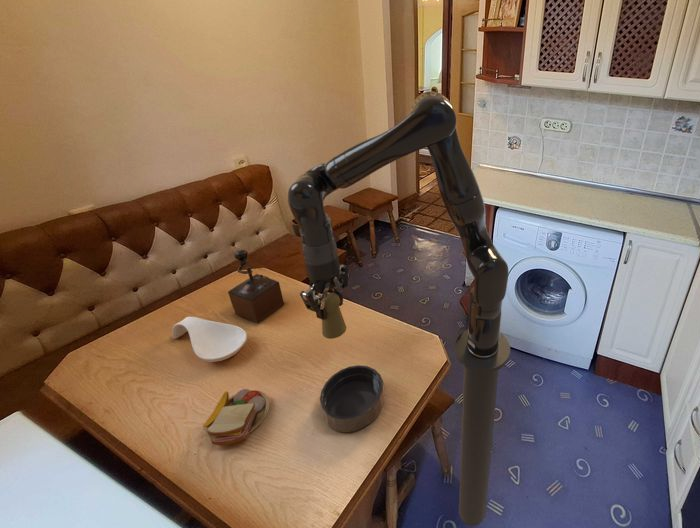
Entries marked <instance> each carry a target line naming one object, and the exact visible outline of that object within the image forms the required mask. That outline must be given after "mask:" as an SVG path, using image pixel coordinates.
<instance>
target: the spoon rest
mask: <svg viewBox="0 0 700 528" xmlns="http://www.w3.org/2000/svg"><path fill="white" fill-rule="evenodd" d="M187 332H188V336H189V340H190V344H191V346H192V347H191V348H192V350H193V352H194V354H195V355H196V356H197V357H198V358H199V359H200V360H201V361H204V362H210V363H212V362H213V363H215V362H216V363H217V362H221V361H226V360H228V359H229V358H231V357H233V356H234V355H236V354H237V353H238V352H239V351H240V350H241V349H242V348H243V347H244V345H245V344H246V342H247V340H248V334H247V331H245V329H243V328H242V327H240V326H237V325H235V324H230V323H225V322H219V321H213V320H209V319H204V318H200V317H196V316H186V317H185V318H184V319H182V320H181V321H178V322H177V323H175V324H174V325H173V327H172V330H171V336H172V339H179V338H180V337H181V336H183V335H185V334H186V333H187Z"/></svg>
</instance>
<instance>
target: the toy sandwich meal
mask: <svg viewBox="0 0 700 528" xmlns="http://www.w3.org/2000/svg"><path fill="white" fill-rule="evenodd" d="M269 398H270V397H269V396H268V395H267V394H266V393H265V392H263V391H261V390H257V389H255V390H254V389H248V388H242V389H240V390H239V391H237V392H236V393H235V394H233V395H231V396H230V395H229V391H228V390H227V391H225V392H223V394H222V396H221V397H220V399H219V401H217V404H216V405H215V407H214V409H213V411H212V413H211V414H210V416H208V418H207V419H206V421H205V423H204V424H203V425H202V427H203V428H205V432H206V435H207V436H208V438H209V439H210V442H211V444H212V445H214V446H226V445H227V446H228V445H231V444H236V443H239V442H242V441H244V440H246V439H248V438H249V437H250V436H251V435H250V434H251V433H252V432H254V430H256V429H257V428H258V427H259V426H260V425H261V424H262V422H263V421H264V420H265V418H266V416H267V415H268V412H269V410H270V399H269Z"/></svg>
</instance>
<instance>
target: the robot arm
mask: <svg viewBox="0 0 700 528" xmlns="http://www.w3.org/2000/svg"><path fill="white" fill-rule="evenodd" d="M457 118H458V117H457V114H456V112H455V109H454V106H453V105H452V103H451V101H450V100H449V98H447V97H446V96H445V95H443V94H442V93H439V92H437V91H432V90H431V91H429V90H428V91H425V92H422V93H421V94H419V95H418V96H417V97H416V98H415V100H414V102H413V103H412V105H411V109H410V113H409V114H408V115H407V116H406V117H405V118H403V119H401V120H400V122H398V123H397V124H396V125H394V126H393V127H391V128H390V129H388V130H386V131H384V132H382V133H380V134H377V135H376V136H372V137H370V138H367V139H365V140H361V141H360V142H357V143H355V144H353V145H352V146H350V147H348V148H346V149H344V150H343V151H341V152H339V153H338V154H336V155H335V156H333V157H331V158H330V159H328V160H327V161H325V162H323V163H320V164H317V165H316V166H313V167H311V168H310V169H308V170H306V171H305V172H302V173H301V174H300V175H299V176H298V177H297V178H296V180H295V181H294V182H293V183H292V184H291V185H290V187H289V188H288V191H287V202H288V207H289V210H290V211H291V214H292V216H293V219H294V220H295V222H296V223H297V225H298V231H299V235H300V241H301V251H302V256H303V262H304V266H305V271H306V276H307V277H308V279H309V287H308V288H307V289H306V290H305V291H304V290H302V291H301V292H300V293H299V296H300V298H301V300H302V302H303V304H304V305H305V308H306V309H307V310H309V311H311V312H314V313H315V315H316V318H317V319H319V320H321V321H322V320H325V319H326V318H327V316H326V311H325V307H324V304H325V300H326V299H327V295H328V293H330V291H331V290H332V291H333V292H332V293H335V294H337V295H338V296H339V298H340V305H339V307H342V306H343V305H344V303H343V302H344V295H343V293H344V289H345V288H347V287H348V285H349V266H348V265H346V264H341V263H340V259H339V258H340V257H339V253H338V245H337V242H336V241H337V240H336V239H335V234H334V228H333V221H332V218H331V216H330V215H329V214H328V213H326V211H325V208H324V207H325V206H324V201H325V199H326V197H327V196H329V195H330V194H332V193H334V192H335V191H337V190H339V189H347V188H349V187H351V186H354V185H355V184H356V183H358V182H360V181H362V180H363V179H365V178H367V177H368V176H370V175H372V174H374V173H375V172H377V171H378V170H380V169H383V168H384V167H386V166H388V165H389V164H392V163H394V162H395V161H398V160H400V159H402V158H404V157H406V156H408V155H411V154H413V153H415V152H418V151H420V150H423V149H425V148H427V150H428V153H429V155H430V158H431V160H432V165H433V170H434V174H435V178H436V183H437V187H438V190H439V194H440V197H441V200H442V202H443V205H444V207H445V211H446V212H447V215H448V217H449V219H450V221H451V223H452V225H453V227H454V228H455V230H456V232H457V234H458V235H459V238H460V240H461V243H462V248H463V250H464V255H465V259H466V263H467V267H468V269H469V271H470V273H471V274H472V277H473V278H474V286H473V287H472V288H471V289H470V291H469V298H468V321H467V322H468V323H467V330H468V341H467V349H468V351H469V353H470V354H471V355H473V356H474V357H476V358H479V359H488V358H491V357H493V356H495V355H496V354H497V352H498V348H499V333H501V323H502V322H501V321H502V309H503V300H504V299H505V297H506V295H507V289H508V282H509V266H508V263H507V261H506V260H505V258H503V256H502V254H501V253H500V251H499V250H498V249H497V248H496V246H495V245H494V242H493V241H492V239H491V236H490V234H489V232H488V229H487V226H486V205H485V201H484V198H483V195H482V191H481V189H480V186H479V183H478V180H477V177H476V176H475V173H474V172H473V169H472V167H471V164H470V163H469V160H468V158H467V156H466V155H465V152H464V150H463V148H462V145H461V143H460V139H459V134H458V131H457V122H458V121H457ZM319 300H320V303H318V302H319Z"/></svg>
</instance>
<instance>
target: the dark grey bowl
mask: <svg viewBox="0 0 700 528" xmlns="http://www.w3.org/2000/svg"><path fill="white" fill-rule="evenodd" d="M384 386H385V385H384V380H383V378H382V376H381V374H380V372H378V371H377V370H376V369H375V368H373V367H370V366H368V365H360V364H359V365H352V366H348V367H347V366H346V367H345V368H343V369H340V370H339V371H337V372H335V373H334V374H333V375H331V376H330V377H329V379H328V380H327V381H325V383H324V385H323V387H322V389H321V391H320V395H319V403H320V407H321V413H322V416H323V421H324V422H325V424H326V425H327V426H328V427H329V428H331V429H333V430H334V431H336V432H341V433H353V432H357V431H359V430H362V429H363V428H365V427H367V426H368V425H370V424H372V422H374V420H375V419H377V417H378V416H379V414H380V413H381V412H382V410H383V407H384V404H385V387H384Z"/></svg>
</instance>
